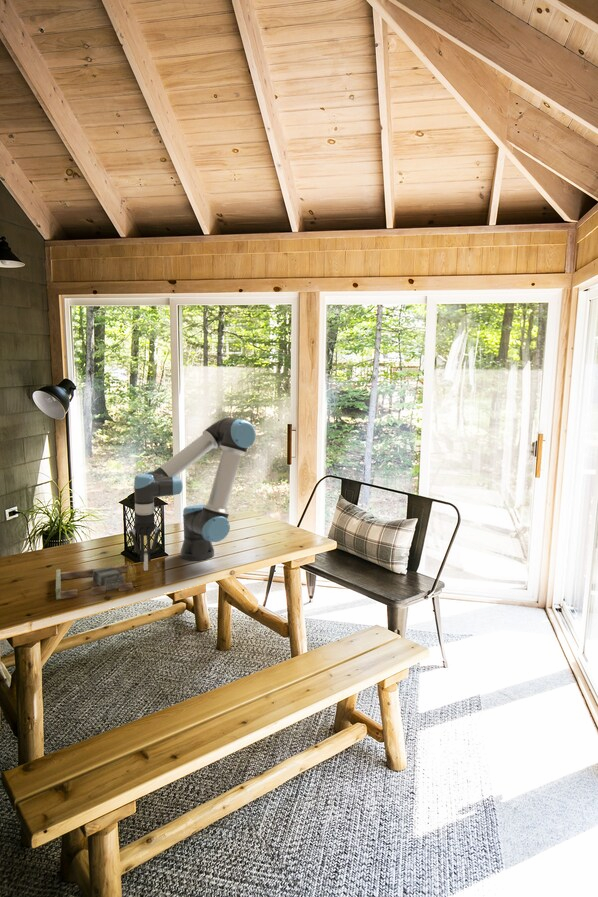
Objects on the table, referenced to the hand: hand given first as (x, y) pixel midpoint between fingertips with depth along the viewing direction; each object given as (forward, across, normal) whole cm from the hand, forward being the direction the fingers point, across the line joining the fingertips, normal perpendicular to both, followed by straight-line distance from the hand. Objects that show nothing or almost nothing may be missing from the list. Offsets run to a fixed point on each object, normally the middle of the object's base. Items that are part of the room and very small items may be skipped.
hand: (145, 569), depth 250 cm
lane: (+4, +20, 0) cm, 20 cm away
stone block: (+4, +14, +1) cm, 15 cm away
